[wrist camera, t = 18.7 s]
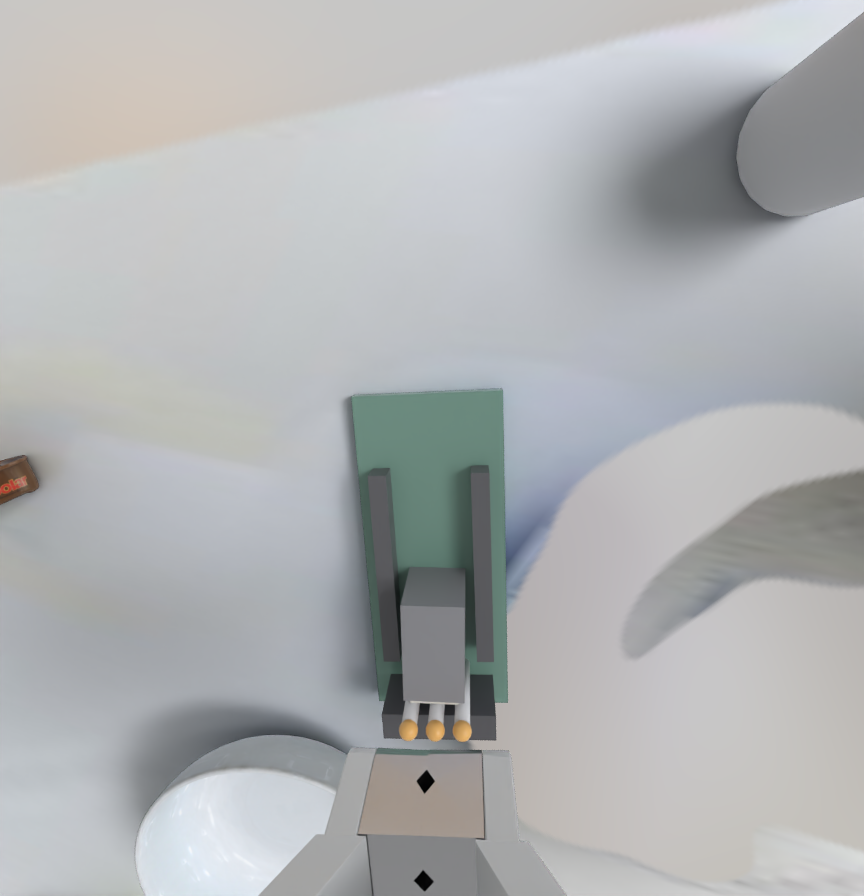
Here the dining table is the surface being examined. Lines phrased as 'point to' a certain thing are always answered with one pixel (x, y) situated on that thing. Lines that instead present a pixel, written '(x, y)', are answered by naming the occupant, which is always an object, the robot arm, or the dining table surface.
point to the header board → (436, 541)
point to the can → (809, 132)
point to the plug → (433, 635)
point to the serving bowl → (237, 817)
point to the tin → (16, 478)
